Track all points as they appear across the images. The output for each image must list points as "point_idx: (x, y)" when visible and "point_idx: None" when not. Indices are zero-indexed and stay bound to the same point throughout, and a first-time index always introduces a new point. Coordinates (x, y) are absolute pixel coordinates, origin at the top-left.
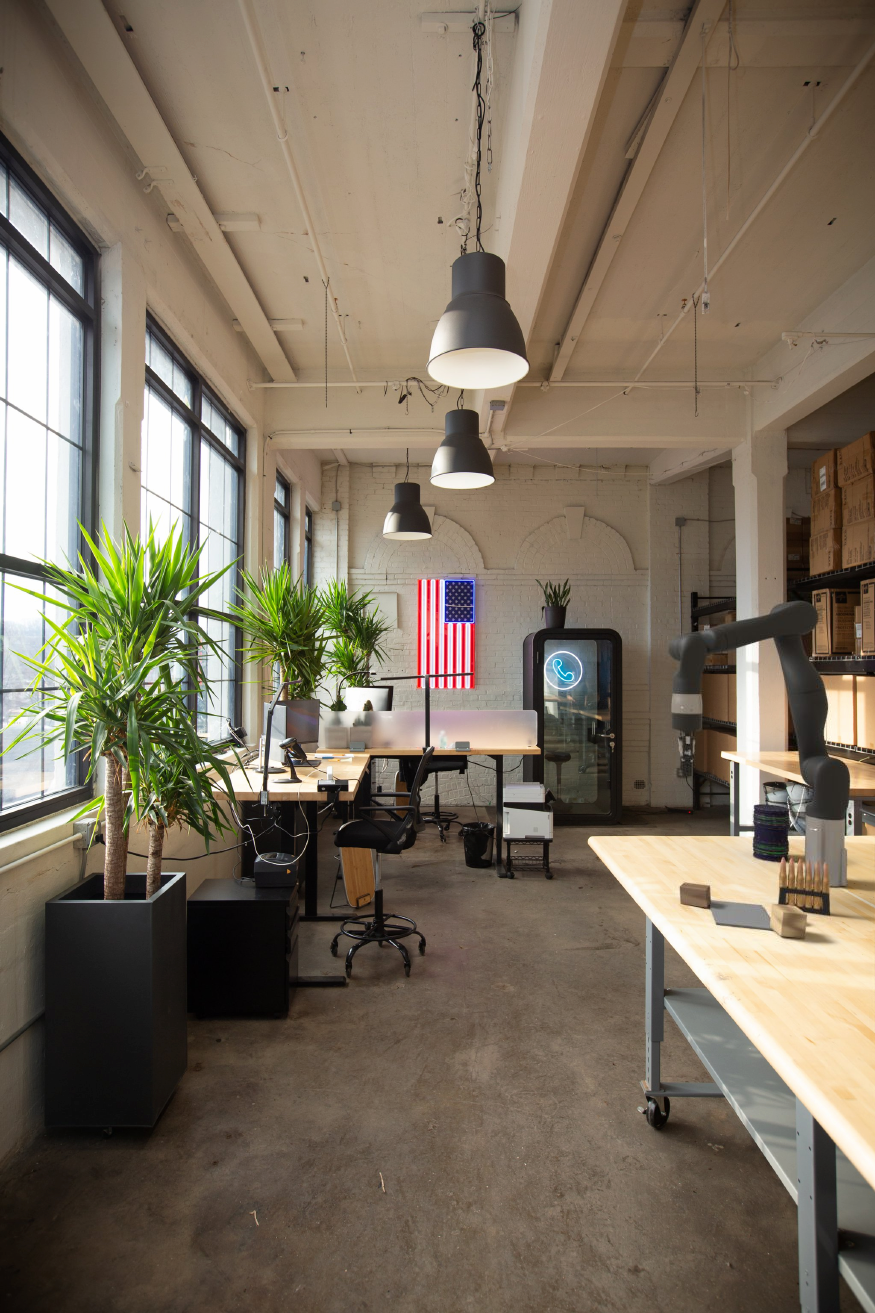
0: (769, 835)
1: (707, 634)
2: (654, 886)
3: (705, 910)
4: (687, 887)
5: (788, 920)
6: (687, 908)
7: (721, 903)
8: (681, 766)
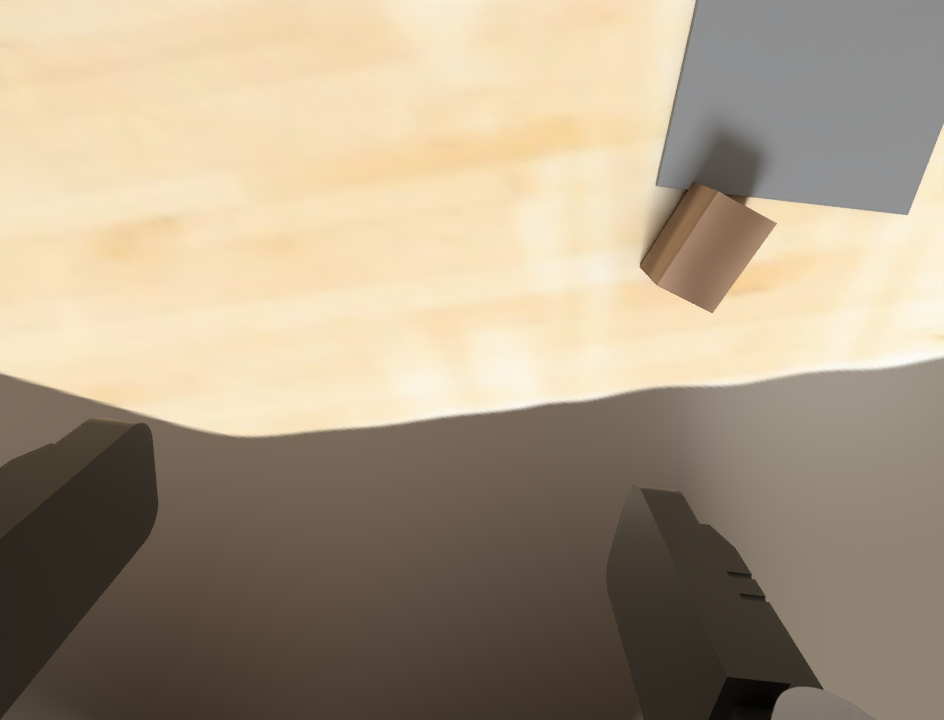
0: None
1: None
2: (499, 348)
3: None
4: (729, 287)
5: None
6: None
7: (699, 140)
8: (112, 579)
